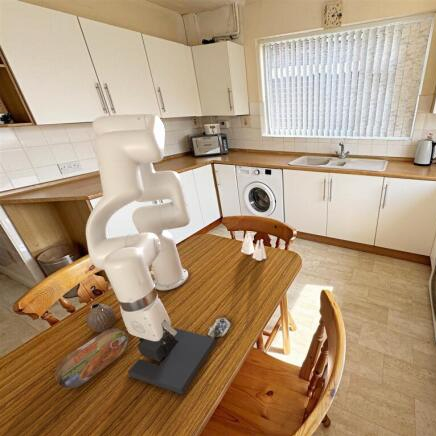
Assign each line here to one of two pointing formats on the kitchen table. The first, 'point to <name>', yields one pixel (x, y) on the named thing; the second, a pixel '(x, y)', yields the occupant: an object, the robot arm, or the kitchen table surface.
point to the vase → (100, 317)
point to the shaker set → (249, 248)
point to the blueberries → (219, 328)
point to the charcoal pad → (176, 362)
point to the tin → (91, 358)
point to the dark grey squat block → (152, 348)
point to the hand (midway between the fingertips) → (158, 347)
